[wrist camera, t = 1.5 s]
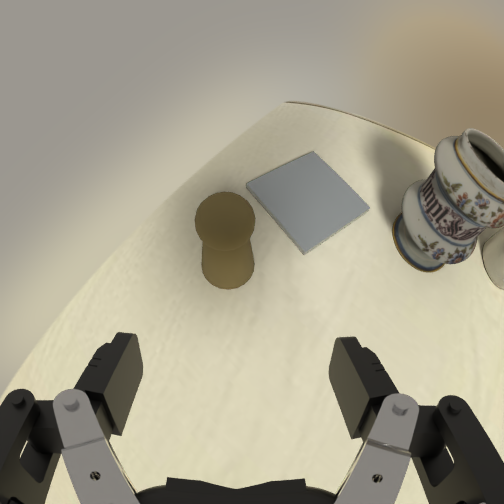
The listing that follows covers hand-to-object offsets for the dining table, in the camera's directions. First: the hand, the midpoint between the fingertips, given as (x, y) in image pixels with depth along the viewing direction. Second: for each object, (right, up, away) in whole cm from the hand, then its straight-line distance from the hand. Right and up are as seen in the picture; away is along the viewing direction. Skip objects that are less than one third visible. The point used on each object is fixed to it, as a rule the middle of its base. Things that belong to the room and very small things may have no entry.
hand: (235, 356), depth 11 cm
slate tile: (+8, +11, +27) cm, 30 cm away
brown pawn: (-2, +3, +23) cm, 23 cm away
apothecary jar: (+24, +6, +25) cm, 36 cm away
